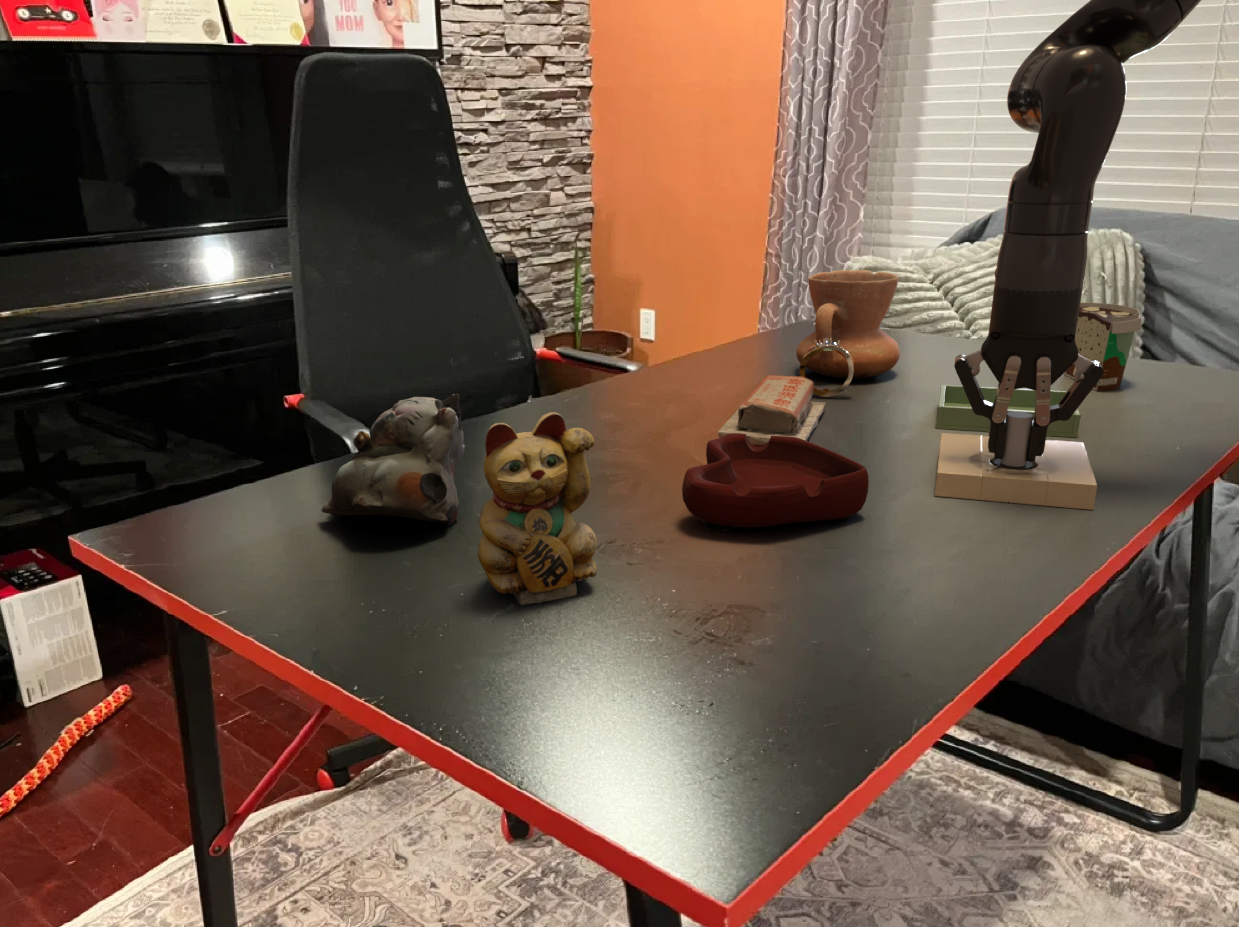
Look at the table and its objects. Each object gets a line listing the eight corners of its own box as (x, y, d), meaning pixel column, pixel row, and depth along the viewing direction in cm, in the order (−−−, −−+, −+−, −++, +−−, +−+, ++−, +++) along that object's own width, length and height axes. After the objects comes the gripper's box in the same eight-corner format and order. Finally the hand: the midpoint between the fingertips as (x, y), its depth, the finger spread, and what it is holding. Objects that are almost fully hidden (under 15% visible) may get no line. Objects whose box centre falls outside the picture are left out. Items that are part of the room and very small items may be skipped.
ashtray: (858, 553, 87) (862, 499, 86) (673, 534, 93) (673, 483, 91) (872, 487, 103) (876, 439, 101) (713, 474, 108) (714, 429, 107)
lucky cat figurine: (306, 512, 101) (335, 378, 102) (417, 536, 107) (443, 409, 108) (352, 514, 88) (385, 360, 89) (475, 542, 94) (504, 396, 95)
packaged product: (750, 370, 132) (828, 374, 128) (748, 406, 133) (825, 411, 130) (717, 404, 116) (805, 410, 113) (716, 445, 118) (803, 452, 114)
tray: (1069, 412, 126) (1072, 391, 125) (1077, 437, 116) (1080, 414, 115) (938, 404, 131) (941, 384, 130) (936, 428, 121) (938, 406, 120)
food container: (1149, 392, 133) (1163, 316, 129) (1102, 393, 133) (1114, 317, 129) (1103, 371, 144) (1114, 300, 141) (1059, 372, 145) (1070, 301, 141)
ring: (796, 398, 136) (799, 339, 133) (801, 392, 139) (804, 334, 136) (849, 402, 134) (854, 342, 131) (853, 396, 136) (858, 337, 133)
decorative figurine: (498, 618, 78) (487, 432, 73) (464, 579, 85) (451, 406, 80) (610, 593, 82) (607, 413, 76) (568, 557, 89) (562, 390, 83)
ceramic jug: (829, 357, 159) (835, 264, 154) (918, 368, 149) (928, 270, 144) (768, 379, 147) (772, 280, 141) (861, 394, 137) (869, 287, 132)
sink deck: (1079, 464, 107) (1083, 442, 106) (1093, 510, 95) (1097, 485, 94) (938, 454, 112) (941, 432, 111) (934, 496, 100) (937, 472, 99)
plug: (1029, 481, 103) (1039, 411, 100) (1030, 493, 100) (1041, 420, 97) (990, 478, 104) (999, 408, 101) (991, 490, 101) (1000, 418, 98)
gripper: (958, 286, 94) (938, 463, 100) (1127, 289, 89) (1096, 476, 95) (959, 274, 100) (940, 442, 106) (1117, 277, 95) (1088, 452, 102)
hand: (1014, 457), depth 101 cm, fingers closed on plug, 2 cm apart
